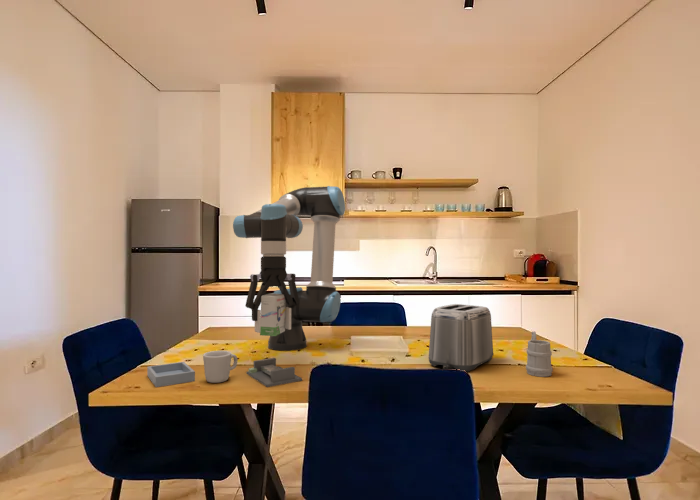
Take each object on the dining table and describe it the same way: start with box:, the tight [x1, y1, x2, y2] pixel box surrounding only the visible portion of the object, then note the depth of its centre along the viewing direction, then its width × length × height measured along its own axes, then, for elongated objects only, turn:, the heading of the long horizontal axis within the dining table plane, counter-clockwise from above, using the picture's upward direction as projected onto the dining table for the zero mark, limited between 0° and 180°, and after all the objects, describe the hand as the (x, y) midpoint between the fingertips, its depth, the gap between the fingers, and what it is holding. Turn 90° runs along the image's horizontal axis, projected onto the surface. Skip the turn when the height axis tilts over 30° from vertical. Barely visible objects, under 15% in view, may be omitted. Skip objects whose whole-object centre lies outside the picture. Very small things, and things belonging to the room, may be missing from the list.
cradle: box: [246, 357, 303, 388], centre depth 132 cm, size 11×16×4 cm
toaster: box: [428, 303, 494, 372], centre depth 148 cm, size 17×30×19 cm, turn 140°
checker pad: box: [261, 364, 282, 376], centre depth 132 cm, size 4×10×1 cm, turn 34°
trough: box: [146, 361, 196, 388], centre depth 131 cm, size 11×14×3 cm
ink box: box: [259, 292, 286, 337], centre depth 132 cm, size 9×5×12 cm, turn 169°
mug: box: [525, 330, 554, 378], centre depth 138 cm, size 8×12×12 cm, turn 172°
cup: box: [202, 350, 238, 384], centre depth 130 cm, size 11×8×8 cm
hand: (273, 330), depth 132 cm, fingers closed on ink box, 9 cm apart
